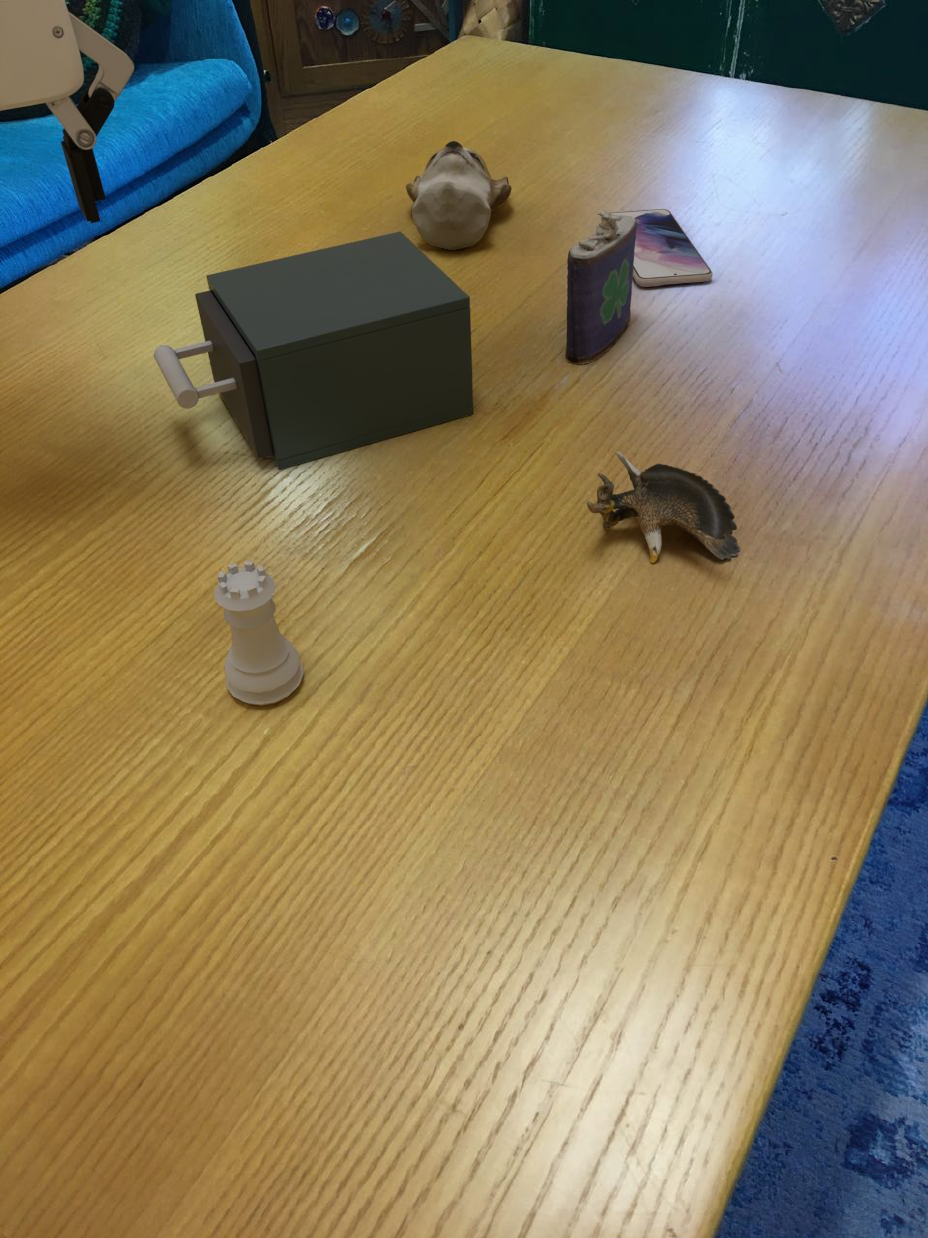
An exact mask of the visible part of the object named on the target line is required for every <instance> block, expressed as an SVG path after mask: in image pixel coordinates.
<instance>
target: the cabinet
mask: <svg viewBox="0 0 928 1238" xmlns="http://www.w3.org/2000/svg"><path fill="white" fill-rule="evenodd" d="M205 277H206V281H207V285H208V291H211V292H212V294H213V295H214V297H215V298H216V300H217V301H218V303H219V304H220V306H221V307H222V309H223V310H224V312H225V313H226V315H227V316H228V318H229V319H230V321H231V322H232V324H233V325H234V327H235V328H236V330H237V331H238V330H239V332H240V333H241V335H242V336H243V338H244V339H245V341H246V342H247V344H248V345H249V347H250V348H251V350H252V351H253V353H254V354H255V356H256V362H257V367H258V373H259V378H260V383H261V389H262V394H263V399H264V405H265V410H266V416H267V421H268V426H269V432H270V437H271V442H272V448H273V453H274V455H273V456H270V458H271V460H272V461H273V463H274V464H275V466H276V468H277V469H278V470H279V471H280V470H284V469H287V468H291V467H294V466H298V465H301V464H305V463H308V462H311V461H316V460H318V459H322V458H325V457H329V456H333V455H337V454H339V453H342V452H346V451H350V450H354V449H356V448H361V447H364V446H367V445H370V444H374V443H377V442H381V441H384V440H388V439H392V438H395V437H398V436H402V435H406V434H408V433H412V432H416V431H419V430H423V429H426V428H429V427H433V426H436V425H440V424H443V423H446V422H450V421H455V420H457V419H458V420H459V419H461V418H464V417H468V416H471V415H474V390H473V389H474V388H473V387H474V386H473V384H474V383H473V355H472V354H473V353H472V326H471V325H472V323H471V319H472V318H471V307H470V306H471V298H470V296H469V295H468V294H467V293H466V292H465V291H464V290H463V289H462V288H461V287H460V286H459V285H458V284H457V283H455V281H454V280H452V279H451V278H450V277H449V276H448V275H447V274H446V273H445V271H443V270H442V269H441V268H440V267H439V266H438V265H436V264H435V263H434V261H432V260H431V259H430V258H429V257H428V256H427V255H426V254H425V253H424V252H423V251H422V250H421V249H420V248H418V246H416V244H415V243H414V242H412V241H411V240H410V239H409V238H408V237H407V236H406V234H404V233H403V232H402V231H395V232H391V233H387V234H382V235H377V236H373V237H369V238H365V239H364V238H363V239H360V240H356V241H355V240H354V241H351V242H348V243H341V244H338V245H334V246H330V247H325V248H321V249H316V250H312V251H308V252H302V253H299V254H294V255H289V256H285V257H281V258H277V259H272V260H268V261H263V262H259V263H255V264H250V265H246V266H241V267H237V268H233V269H227V270H223V271H220V272H215V273H211V274H206V276H205ZM239 332H238V333H239Z"/></svg>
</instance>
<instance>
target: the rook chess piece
mask: <svg viewBox="0 0 928 1238" xmlns="http://www.w3.org/2000/svg"><path fill="white" fill-rule="evenodd" d="M255 565H256V564H255V562H254V561H251V560H244V567H240V568H239V567H238V564H237V562H233V563H231V564H229V565H227V567H226V568H227V570H228V573H227V572H225V571H220V572H219V574H218V576H217V580H218V583H217V585H216V587H215V589H214V590H213V594H214V595H213V596H214V600H215V601H216V604H218V606H220V607H221V608H223V609H224V610H223V619H224V620H225V622H226V623H227V625H229V627H230V631H231V645H230V648H229V649H228V651H227V652H228V654H227V655H226V658H225V660H224V665H223V666H224V668H223V669H224V677H225V682H226V689H227V690H228V691H229V692H230V694H231V696H232V697H233V698H236V699H238V700H239V701H241V702H244V703H246V704H248V705H252V706H253V705H255V706H263V707H264V706H268V705H273V704H276V703H279V702H281V701H283V700H285V699H286V698H289V696H290V695H291V694H292V693H293V692H294V691H295V690H296V689H297V688H298V687H299V686H300V685H301V682H302V679H303V676H304V668H303V662H302V661H301V658H300V653H299V651H298V649H297V648H296V647H295V646H294V644H293V643H292V642H291V641H290V640H289V639H288V638H286V636H285V635H284V634H283V633H281V631H280V628H279V626H278V624H277V622H276V619H275V614H276V610H277V609H276V608H277V607H276V603H275V601H274V600H273V599H272V598H273V597H274V594H275V592H276V591H277V588H276V581H275V580H274V579H273V578H272V576H271V575H270V574H268V573H266V569H265V568H264V567H263V566H262V565H261V564H259V565H258V566H257V567H256V566H255Z"/></svg>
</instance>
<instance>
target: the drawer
mask: <svg viewBox="0 0 928 1238" xmlns="http://www.w3.org/2000/svg"><path fill="white" fill-rule="evenodd" d="M194 296H195V297H194V298H195V301H196V305H197V309H198V310H197V311H198V314H199V315H198V316H199V319H200V323H201V324H200V325H201V328H202V333H203V337H204V341H203V342H198V343H194V344H190V345H186V346H183V347H178V348H174V349H173V348H172V347H171V346H170V345H168V344H161V345H159V346H157V347H156V348H155V349H154V351H153V358H154V361H155V362H156V364H157V366H158V368H159V370H160V372H161V374H162V376H163V377H164V380H165V381H166V384H167V385H168V387H169V389H170V391H171V393H172V395H173V397H174V399H175V400H176V403H177V405H179V406H180V407H181V408H183V409H192V408H194V407H196V406H197V404H198V403H199V399H203V398H207V397H210V396H211V397H212V396H214V395H217V394H219V396H220V397H221V399H222V400H223V402H224V404H225V405H226V407H227V409H228V411H229V412H230V414H231V416H232V417H233V419H234V421H235V423H236V424H237V426H238V428H239V429H240V431H241V432H242V435H243V436H244V438H245V440H246V442H247V443H248V445H249V446H250V448H251V450H252V451H253V453H254V455H255V457H256V458H257V460H262V459H267V458H269V457H270V458H271V456H273V455H274V453H273V448H272V442H271V437H270V432H269V426H268V421H267V416H266V410H265V405H264V399H263V394H262V389H261V383H260V378H259V373H258V367H257V362H256V356H255V354H254V353H253V351H252V350H251V348H250V347H249V345H248V344H247V342H246V341H245V339H244V338H243V336H242V335H241V333H240V332H239V330H238V331H237V330H236V328H235V327H234V325H233V324H232V322H231V321H230V319H229V318H228V316H227V315H226V313H225V312H224V310H223V309H222V307H221V306H220V304H219V303H218V301H217V300H216V298H215V297H214V295H213V294H212V292H211V291H209V290H205V291H201V292H197V293H195V294H194ZM238 332H239V333H238ZM206 353H207V357H208V361H209V366H210V369H211V373H212V378H213V382H211V383H207V384H204V385H200V386H194V384H193V383H192V381H191V379H190V377H189V375H188V374H187V372H186V370H185V368H184V366H183V365H182V363H181V360H182V359H186V358H191V357H194V356H198V355H202V354H206Z"/></svg>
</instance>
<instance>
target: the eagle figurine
mask: <svg viewBox="0 0 928 1238" xmlns="http://www.w3.org/2000/svg"><path fill="white" fill-rule="evenodd" d="M615 454H616V456H617V458H618V459H619V461H620V463H622V465H623V466H624V467H625V469H626V470H627V474H628V476H629V479H630V481H631V484H632V487H633V489H630V490H628V491H624V492H621V493H614V488H615V484H614V482H613V481H611V480H610V479H609V478H608V477H607V476H606V475H605V474H603V473H600V472H599V473H597V476H598V477H599V478H600V480H601V481H602V482H603V484H601V485H599V486H598V487H597V490H596V496H597V497H596V498H597V500H596V501H597V502H596V503H593V502H591V501H587V502H586V506H587V508H588V510H589V512H590V513H591V514H600V515H601V517H602V519H603V521H602V528H603V529H604V530H606V529H608V530H611V528H613V527H614V526H616V525H618V524H619V522H622V521H624V520H626V519H627V520H628V519H634V518H637V520H638V523H639V527H640V530H641V533H642V534H643V536H644V539H645V540H646V543H647V547H648V550H649V555H650V559H649V563H650V564H655V563H656V562H657V560H658V558H659V555H660V553H661V550H662V543H663V541H662V540H663V539H662V527H664V526H674V527H678V528H680V529H682V530H683V531H684V532H687V533H688V534H689V535H691V536H692V537H694V538H695V539H697V540H698V541H699V542H700V543H701V544H702V545H703V546H704V547H705V548H706V549H707V550H709V552H710V553H711V554H712V555H713V556H714V557H716V558H717V559H719V560H720V561H723V560H725V559H727V560H731V559H732V557H737V556H739V553H738V552H740V550H741V549H740V546H739V545H738V539H737V538H736V537H735V536H734V535H733V533H734V532H733V531H737V530H738V526H737V523H736V522H735V521H734V519H735V518H736V515H735V513H734V512H733V511H732V507H731V505H730V504H729V503H728V502H727V498H726V497H725V495H723V494H721V493H720V490H719V489H717V488H716V487H715V486H714V484H712V483H710V481H709V480H708V479H704V477H703V476H702V475H699V474H697V473H695V472H690V471H688V470H685V469H683V468H680V467H675V466H672V465H668V464H664V463H663V464H662V463H655V464H654V465H651V466H649V467H648V468H646V469H644V470H643V471H640V470H638V469H637V468H636V467H635V466H634V465H633V464H632V463H631V462H630V461H629V460H628V459H627V458H626V457H625V456H624V455H623V454H622V453H621V452H619V451H616V453H615ZM614 510H615V511H614Z"/></svg>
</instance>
